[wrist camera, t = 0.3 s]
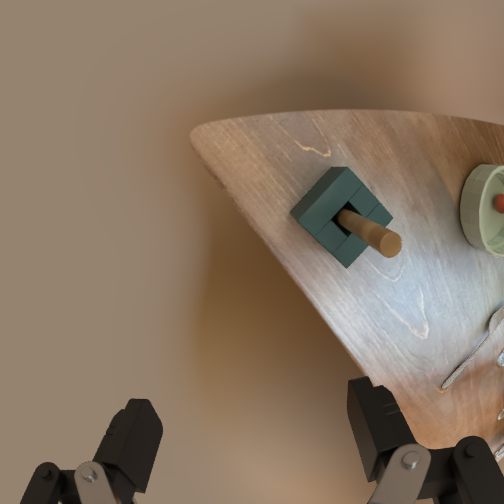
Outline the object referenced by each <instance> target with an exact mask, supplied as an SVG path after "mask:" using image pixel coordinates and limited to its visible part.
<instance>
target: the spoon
mask: <svg viewBox="0 0 504 504" xmlns="http://www.w3.org/2000/svg"><path fill="white" fill-rule="evenodd" d="M503 318H504V305H503V306H501V307H500V308H499V309H498V310H497V311H496V312H495V313H494V314H493V316H492V317H491V320H490V322H489V333H488V336H487V337H486V339H485V340H484V341H483V342H482V344H481V345H480V346H479V347H478V348H477V349H476V351H475V352H474V353H473V354H472V355H471V356H470V357H469V358H467V359H466V360H465V361H464V362H463V363H462V364H461V365H460V366H459V367H458V368H457V369H456V370H455V371H454V372H453V374H452V375H451V376H450V377H449V378H448V379H447V380H446V381H445V382H444V383H443V385H442V388H446V387H447V386H448V385H450V384H451V382H452V381H453V380H454V379H455V378H456V377H457V376H458V374H459V373H460V372H461V371H462V370H463V369H464V368H465V366H466V365H467V364H468V363H469V362H470V361H471V359H472V358H473V357H474V356H475V355H476V353H477V352H478V351H479V350H480V349H481V347H482V346H483V345H484V344H485V343H486V341H487V340H488V339H489V338H490V337H491V335H492V334H493V333H494V331H495V330H496V329H497V327H498V326H499V324H500V323H501V321H502V319H503Z"/></svg>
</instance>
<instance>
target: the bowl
mask: <svg viewBox="0 0 504 504" xmlns="http://www.w3.org/2000/svg"><path fill="white" fill-rule="evenodd" d="M498 194H504V165H499V164H481V165H479V166H478V167H476V168H475V169H473V171H472V172H471V174H470V175H469V176H468V178H467V180H466V182H465V185H464V188H463V191H462V196H461V203H460V217H461V223H462V227H463V231H464V234H465V236H466V238H467V239H468V241H469V243H470V244H472V245H473V246H474V247H475V248H477V249H479V250H481V251H483V252H485V253H487V254H489V255H491V256H493V257H499V258H502V257H504V214H501V213H499V212H497V211H496V209H495V207H494V199H495V197H496V196H497V195H498Z"/></svg>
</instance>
